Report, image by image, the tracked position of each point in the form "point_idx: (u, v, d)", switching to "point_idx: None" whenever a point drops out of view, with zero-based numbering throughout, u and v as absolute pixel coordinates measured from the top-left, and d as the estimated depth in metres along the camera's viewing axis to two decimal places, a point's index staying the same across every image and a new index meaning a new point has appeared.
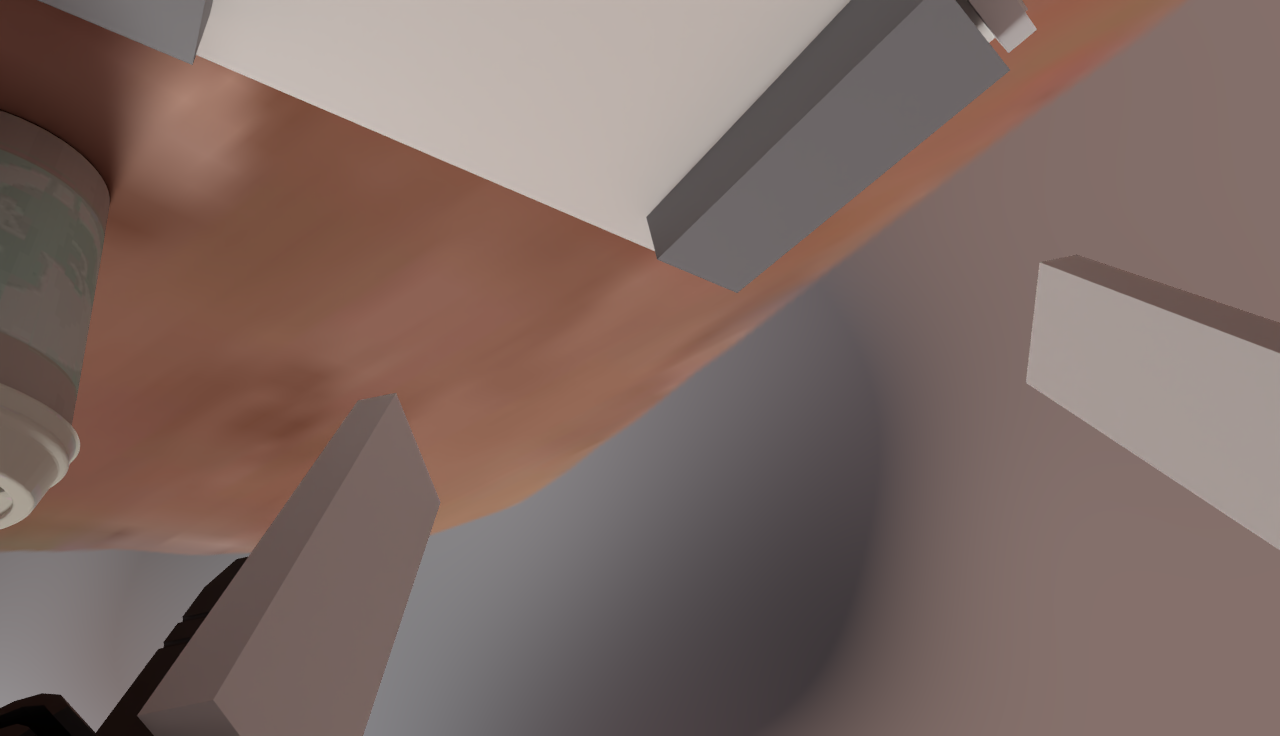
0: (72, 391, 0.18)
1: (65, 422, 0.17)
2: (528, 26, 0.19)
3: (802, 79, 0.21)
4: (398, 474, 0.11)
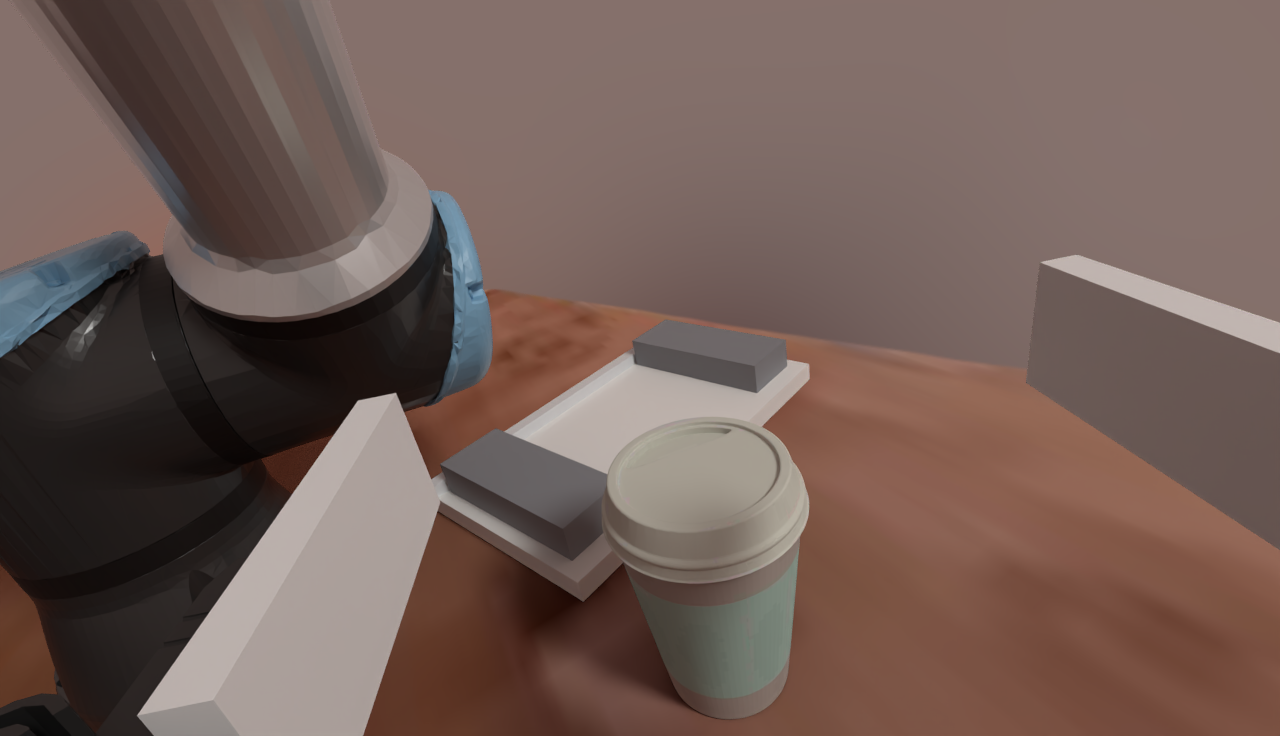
0: None
1: None
2: None
3: (673, 363, 0.53)
4: (398, 474, 0.11)
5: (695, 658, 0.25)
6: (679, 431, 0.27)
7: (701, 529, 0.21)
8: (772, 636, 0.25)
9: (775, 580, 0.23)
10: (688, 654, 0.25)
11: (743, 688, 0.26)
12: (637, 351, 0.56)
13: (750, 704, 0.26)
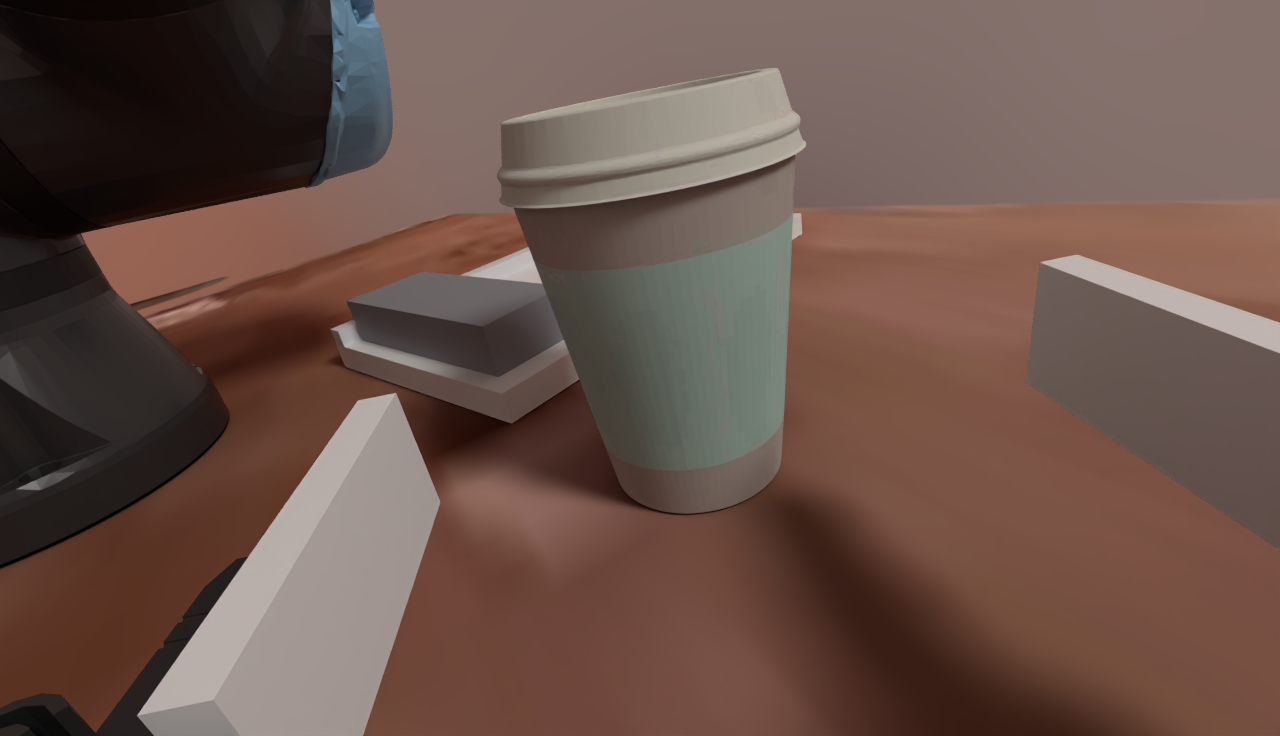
0: None
1: None
2: None
3: None
4: (398, 474, 0.11)
5: (640, 391, 0.16)
6: None
7: (633, 100, 0.13)
8: (756, 354, 0.16)
9: (756, 233, 0.15)
10: (630, 386, 0.16)
11: (715, 450, 0.17)
12: None
13: (726, 484, 0.18)
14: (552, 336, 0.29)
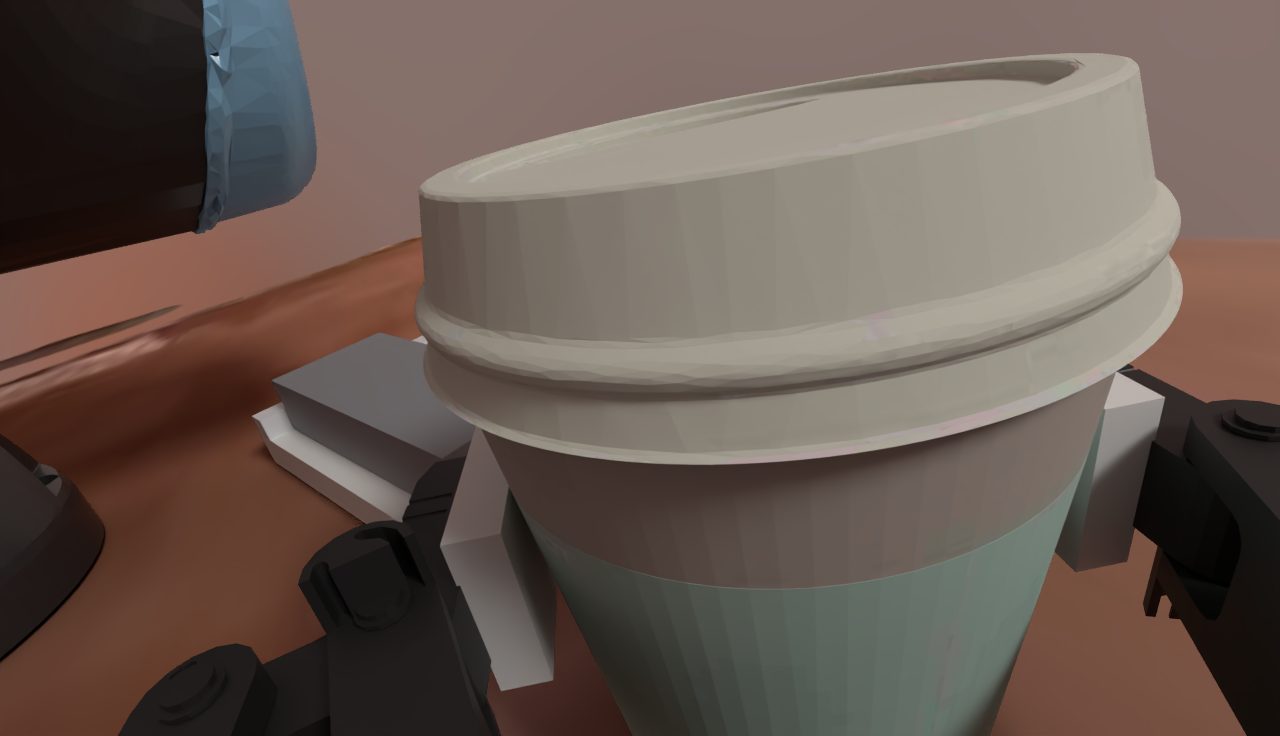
0: None
1: None
2: None
3: None
4: None
5: None
6: (674, 128, 0.10)
7: (804, 153, 0.04)
8: (995, 693, 0.07)
9: (1068, 480, 0.06)
10: None
11: None
12: None
13: None
14: None
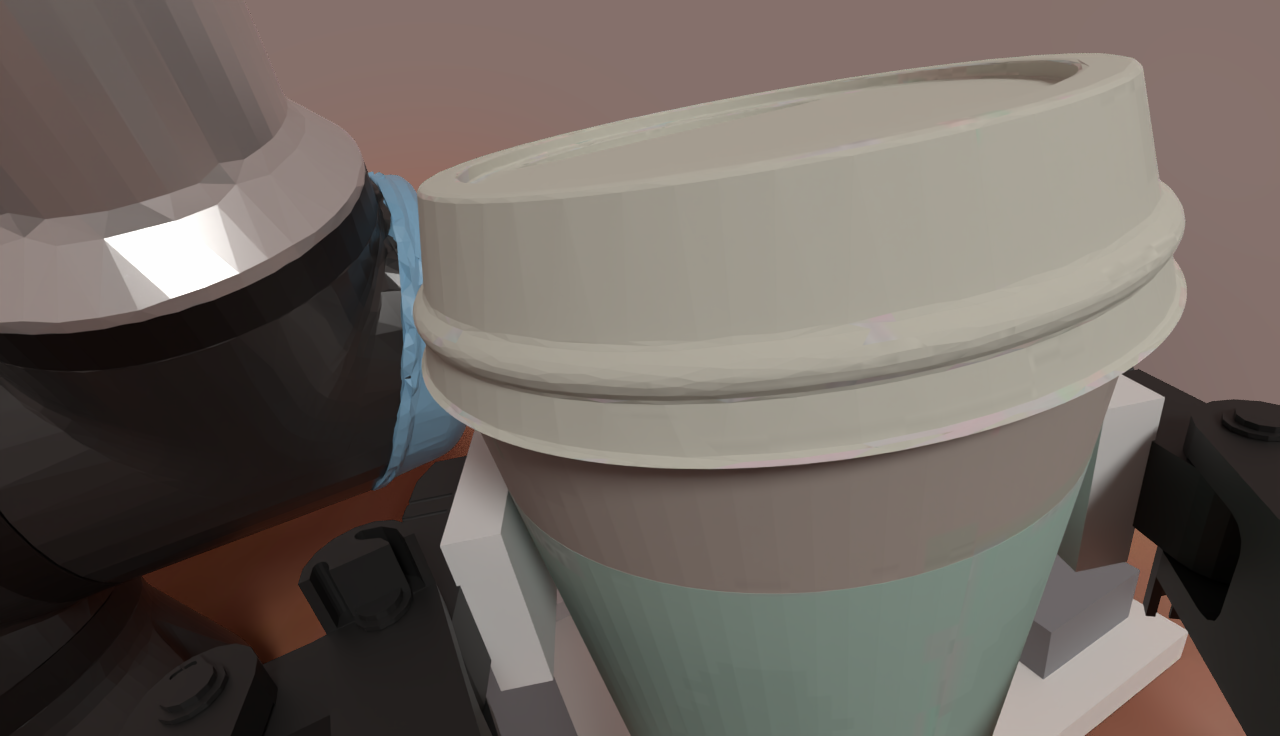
0: None
1: None
2: None
3: None
4: None
5: None
6: (674, 129, 0.10)
7: (803, 153, 0.04)
8: (996, 697, 0.07)
9: (1071, 483, 0.06)
10: None
11: None
12: None
13: None
14: None
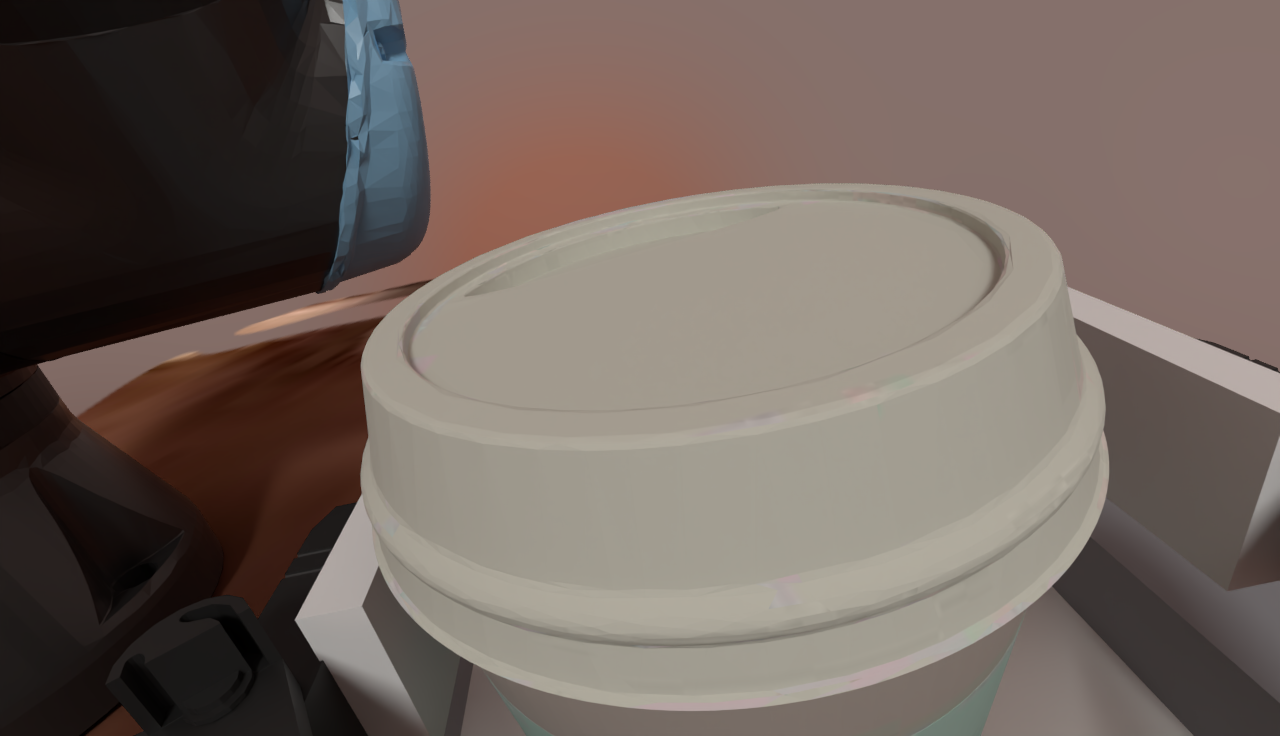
0: None
1: None
2: None
3: (1104, 603, 0.14)
4: None
5: None
6: (636, 229, 0.10)
7: (709, 428, 0.04)
8: None
9: (998, 658, 0.06)
10: None
11: None
12: None
13: None
14: None
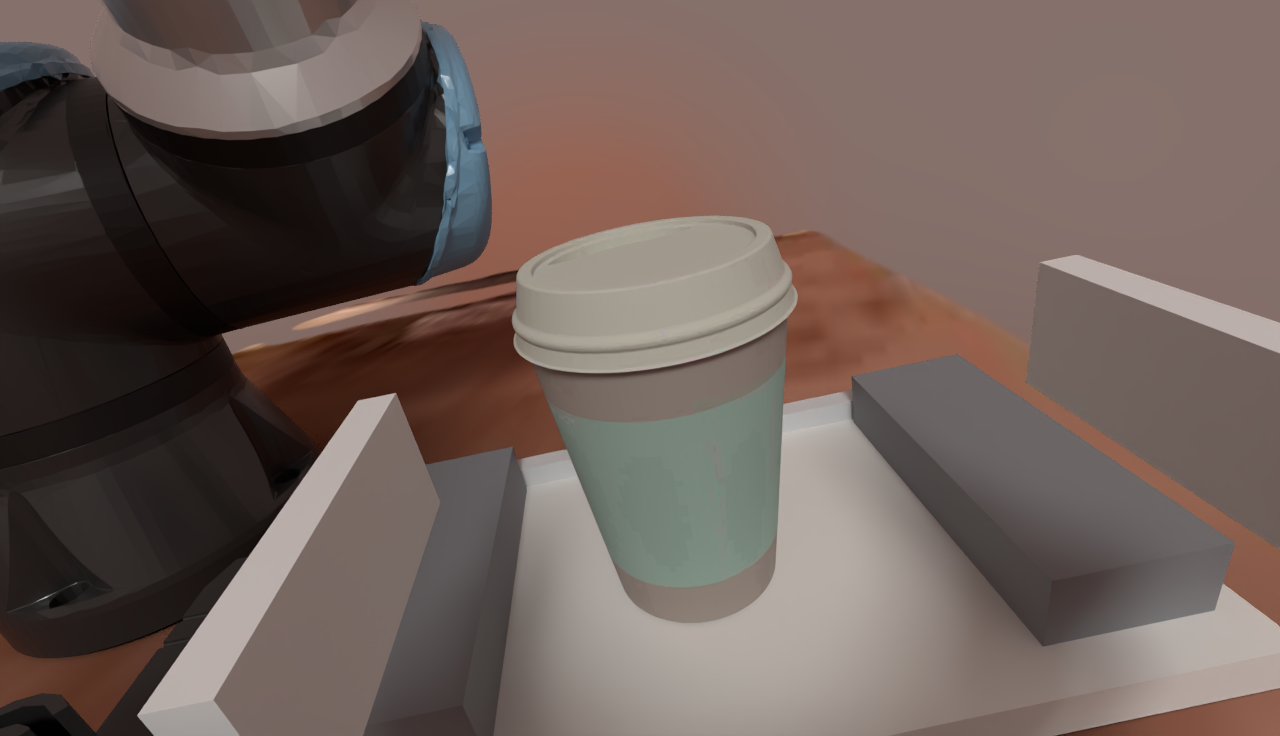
0: None
1: None
2: None
3: (899, 455, 0.24)
4: (398, 474, 0.11)
5: (644, 520, 0.18)
6: (624, 237, 0.20)
7: (640, 285, 0.14)
8: (751, 486, 0.18)
9: (752, 387, 0.16)
10: (635, 515, 0.18)
11: (714, 570, 0.19)
12: (856, 399, 0.28)
13: (724, 598, 0.19)
14: None
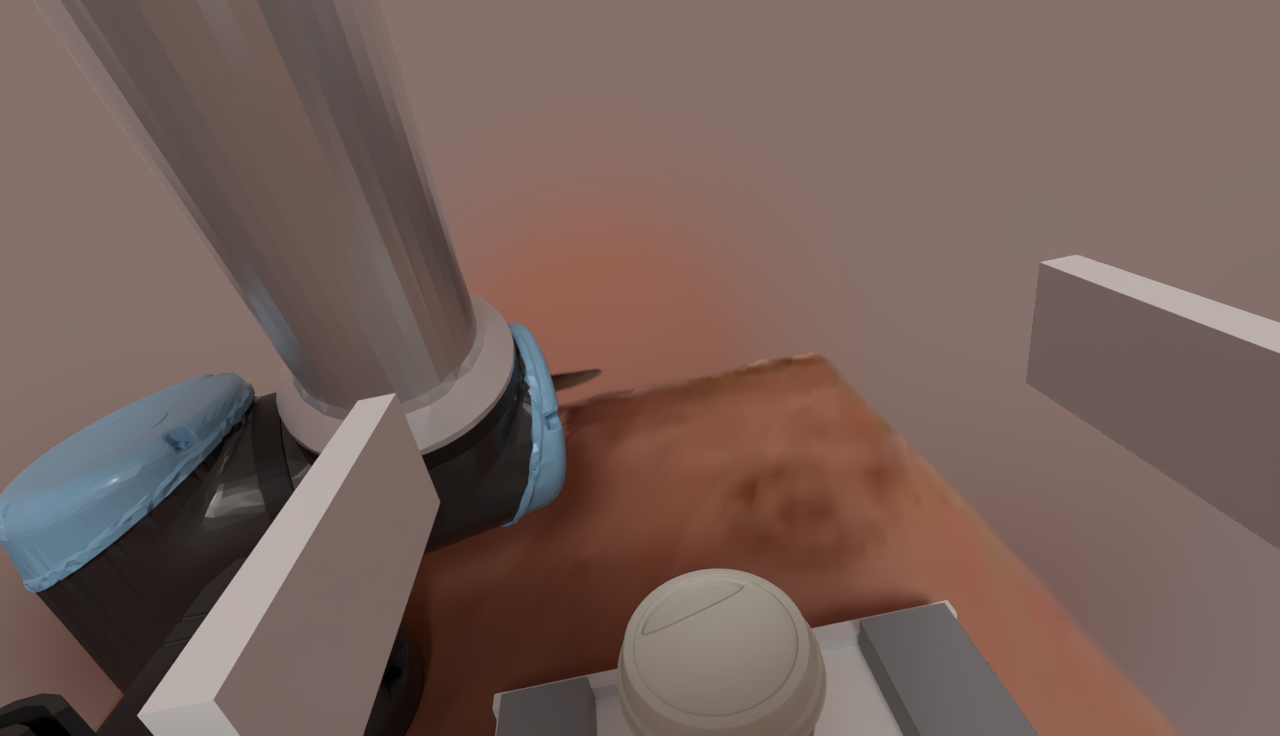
0: None
1: None
2: None
3: (897, 710, 0.31)
4: (398, 474, 0.11)
5: None
6: (691, 585, 0.27)
7: (725, 725, 0.21)
8: None
9: None
10: None
11: None
12: (862, 638, 0.35)
13: None
14: None
